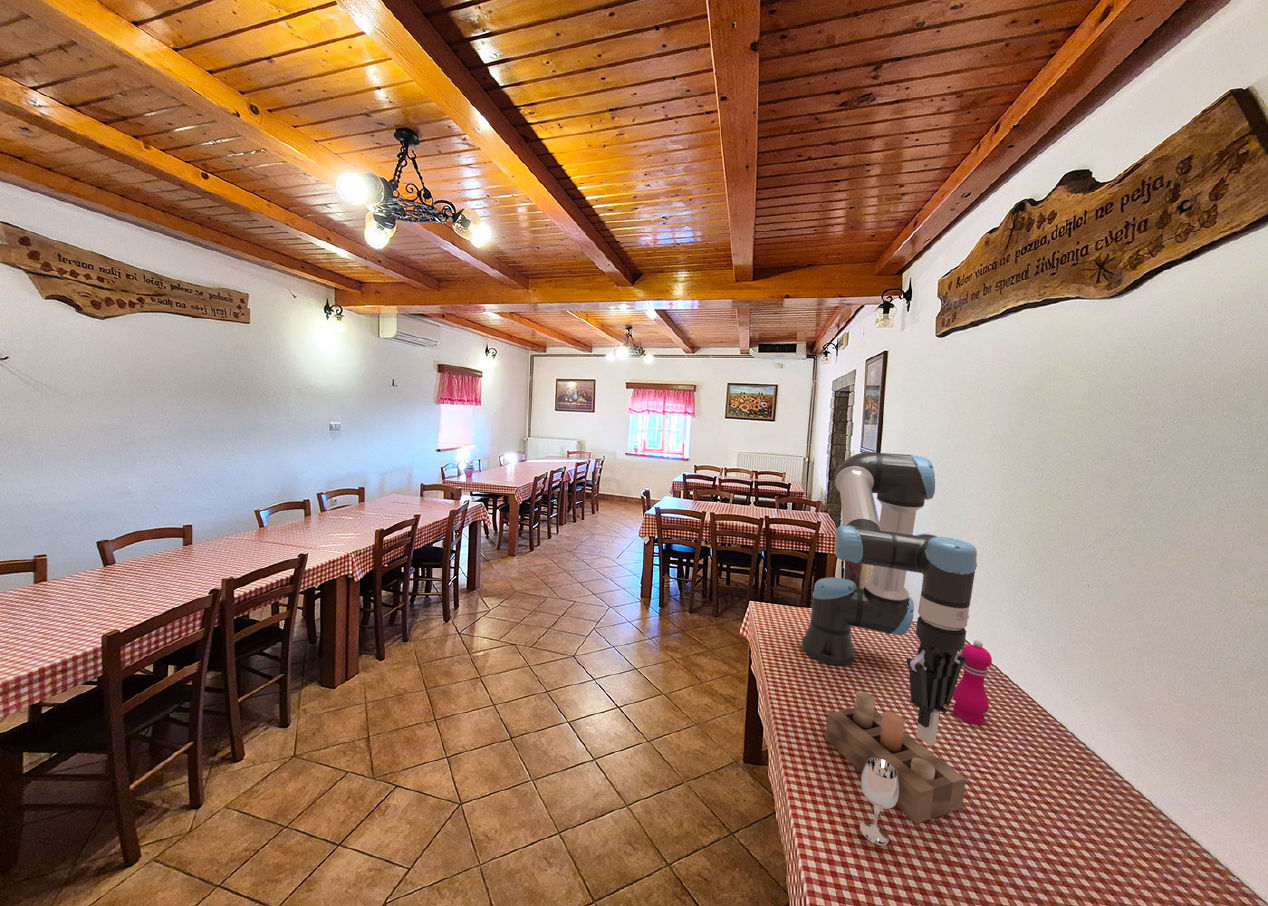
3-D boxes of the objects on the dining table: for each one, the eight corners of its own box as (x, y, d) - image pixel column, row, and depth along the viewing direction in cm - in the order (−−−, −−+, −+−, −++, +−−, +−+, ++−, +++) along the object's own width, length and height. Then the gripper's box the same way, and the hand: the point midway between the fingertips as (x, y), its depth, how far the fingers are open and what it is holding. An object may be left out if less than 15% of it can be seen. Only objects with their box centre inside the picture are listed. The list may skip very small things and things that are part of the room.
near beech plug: (903, 788, 86) (907, 759, 86) (917, 784, 88) (921, 756, 87) (921, 805, 83) (925, 774, 82) (936, 800, 84) (940, 770, 84)
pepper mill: (993, 729, 108) (1004, 650, 106) (959, 723, 109) (970, 645, 108) (976, 710, 115) (986, 636, 113) (945, 705, 116) (955, 631, 115)
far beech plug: (849, 718, 99) (851, 692, 99) (861, 715, 100) (864, 690, 100) (863, 730, 96) (866, 703, 95) (876, 727, 97) (879, 700, 96)
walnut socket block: (824, 738, 100) (827, 713, 100) (865, 729, 104) (868, 705, 104) (916, 824, 79) (920, 792, 79) (961, 808, 84) (965, 778, 83)
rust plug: (875, 740, 93) (878, 713, 92) (889, 737, 94) (892, 710, 93) (891, 753, 89) (895, 725, 89) (905, 750, 90) (908, 722, 90)
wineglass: (848, 818, 80) (856, 755, 79) (879, 818, 80) (886, 755, 79) (868, 849, 74) (876, 781, 73) (900, 849, 74) (909, 781, 74)
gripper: (936, 635, 77) (919, 762, 79) (986, 627, 81) (969, 747, 84) (898, 616, 84) (883, 732, 86) (946, 609, 88) (930, 720, 91)
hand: (925, 740), depth 85 cm, fingers closed
